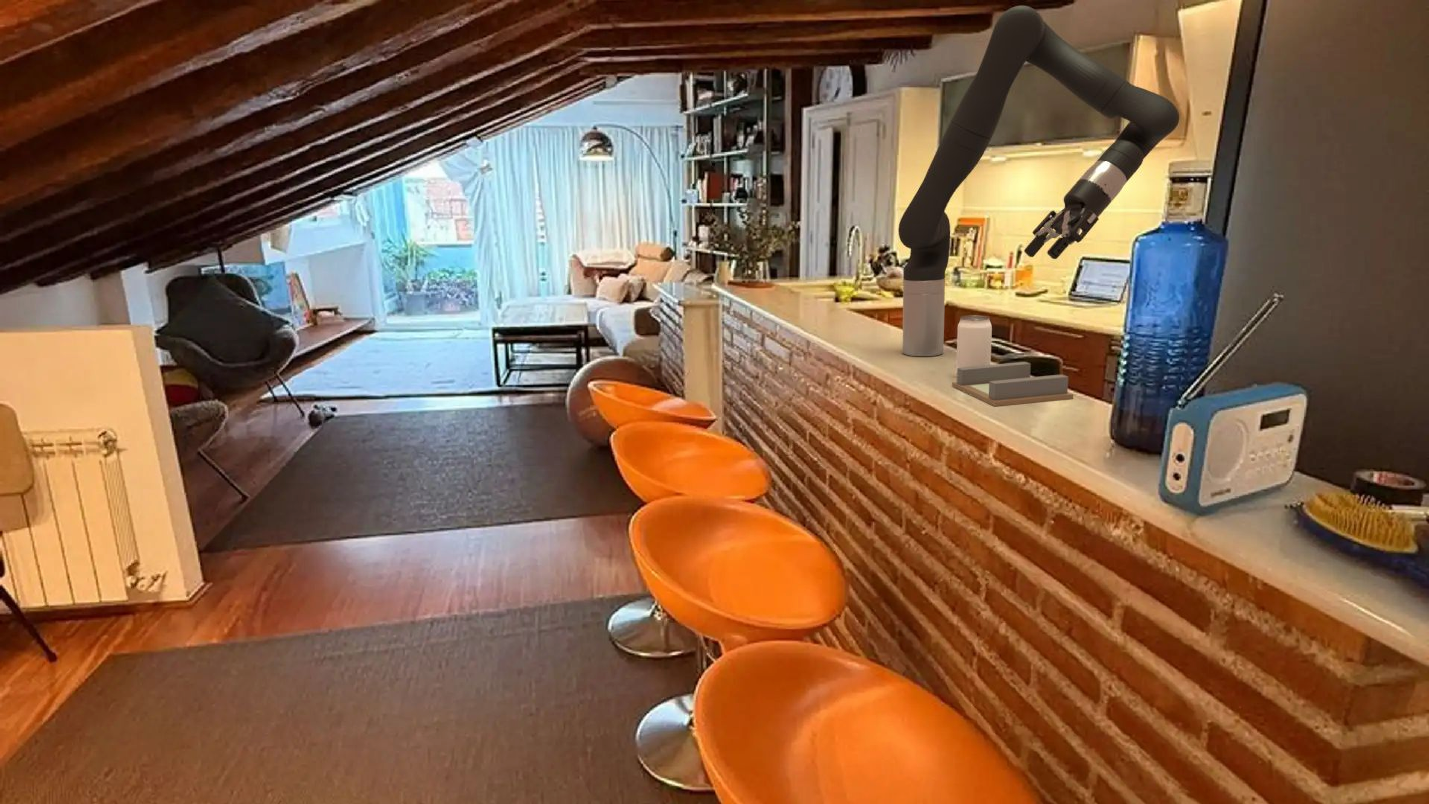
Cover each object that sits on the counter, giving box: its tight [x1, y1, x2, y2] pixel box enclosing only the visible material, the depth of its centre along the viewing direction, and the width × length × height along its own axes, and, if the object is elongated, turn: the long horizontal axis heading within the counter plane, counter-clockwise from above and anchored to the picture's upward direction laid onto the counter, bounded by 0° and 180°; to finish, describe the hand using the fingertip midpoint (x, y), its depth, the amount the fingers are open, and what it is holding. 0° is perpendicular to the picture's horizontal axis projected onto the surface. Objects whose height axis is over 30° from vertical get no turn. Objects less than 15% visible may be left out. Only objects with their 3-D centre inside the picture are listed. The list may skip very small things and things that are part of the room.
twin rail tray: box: [951, 361, 1074, 407], centre depth 146 cm, size 16×15×4 cm
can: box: [956, 315, 993, 369], centre depth 159 cm, size 6×6×12 cm
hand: (1039, 255), depth 156 cm, fingers open, 8 cm apart
